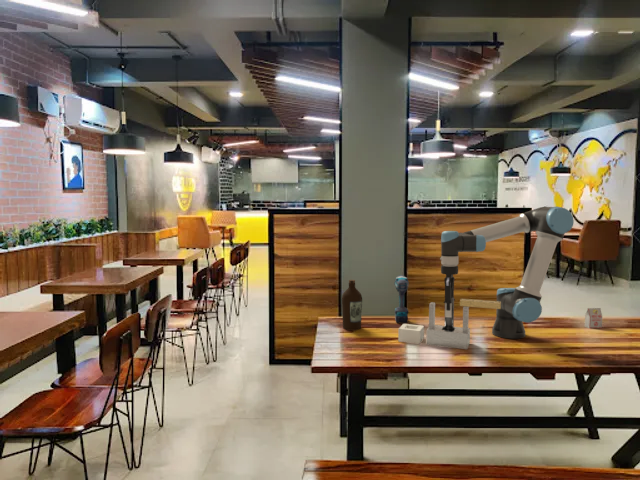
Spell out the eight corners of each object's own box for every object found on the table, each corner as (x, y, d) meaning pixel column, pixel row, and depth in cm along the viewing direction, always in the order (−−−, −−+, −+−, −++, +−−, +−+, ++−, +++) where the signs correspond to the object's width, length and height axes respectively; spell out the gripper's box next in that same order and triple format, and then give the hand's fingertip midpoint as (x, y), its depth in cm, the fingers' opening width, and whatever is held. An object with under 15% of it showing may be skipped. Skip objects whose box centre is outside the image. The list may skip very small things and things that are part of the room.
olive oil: (337, 326, 245) (337, 279, 243) (354, 324, 250) (355, 277, 248) (348, 331, 236) (348, 282, 234) (366, 328, 241) (366, 280, 239)
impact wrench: (406, 316, 268) (406, 272, 266) (410, 326, 246) (410, 279, 244) (392, 315, 269) (392, 272, 267) (394, 326, 246) (395, 279, 244)
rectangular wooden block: (500, 307, 207) (501, 301, 206) (500, 309, 203) (500, 303, 203) (460, 304, 213) (461, 298, 213) (459, 305, 210) (459, 300, 210)
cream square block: (423, 338, 224) (424, 325, 224) (419, 343, 215) (419, 331, 215) (403, 335, 228) (403, 323, 228) (398, 341, 219) (398, 328, 219)
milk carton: (584, 326, 245) (585, 307, 244) (597, 326, 245) (598, 307, 245) (589, 328, 241) (590, 309, 240) (601, 327, 242) (602, 308, 241)
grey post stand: (469, 343, 216) (470, 304, 215) (467, 349, 207) (468, 308, 206) (430, 338, 223) (430, 300, 222) (426, 344, 214) (426, 305, 213)
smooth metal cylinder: (454, 331, 216) (454, 297, 214) (452, 333, 212) (453, 299, 211) (445, 330, 217) (445, 296, 216) (443, 332, 214) (444, 298, 212)
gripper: (444, 262, 221) (443, 311, 223) (438, 267, 206) (437, 319, 208) (460, 263, 218) (460, 312, 220) (455, 268, 203) (455, 321, 205)
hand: (449, 315), depth 214 cm, fingers closed on smooth metal cylinder, 4 cm apart
